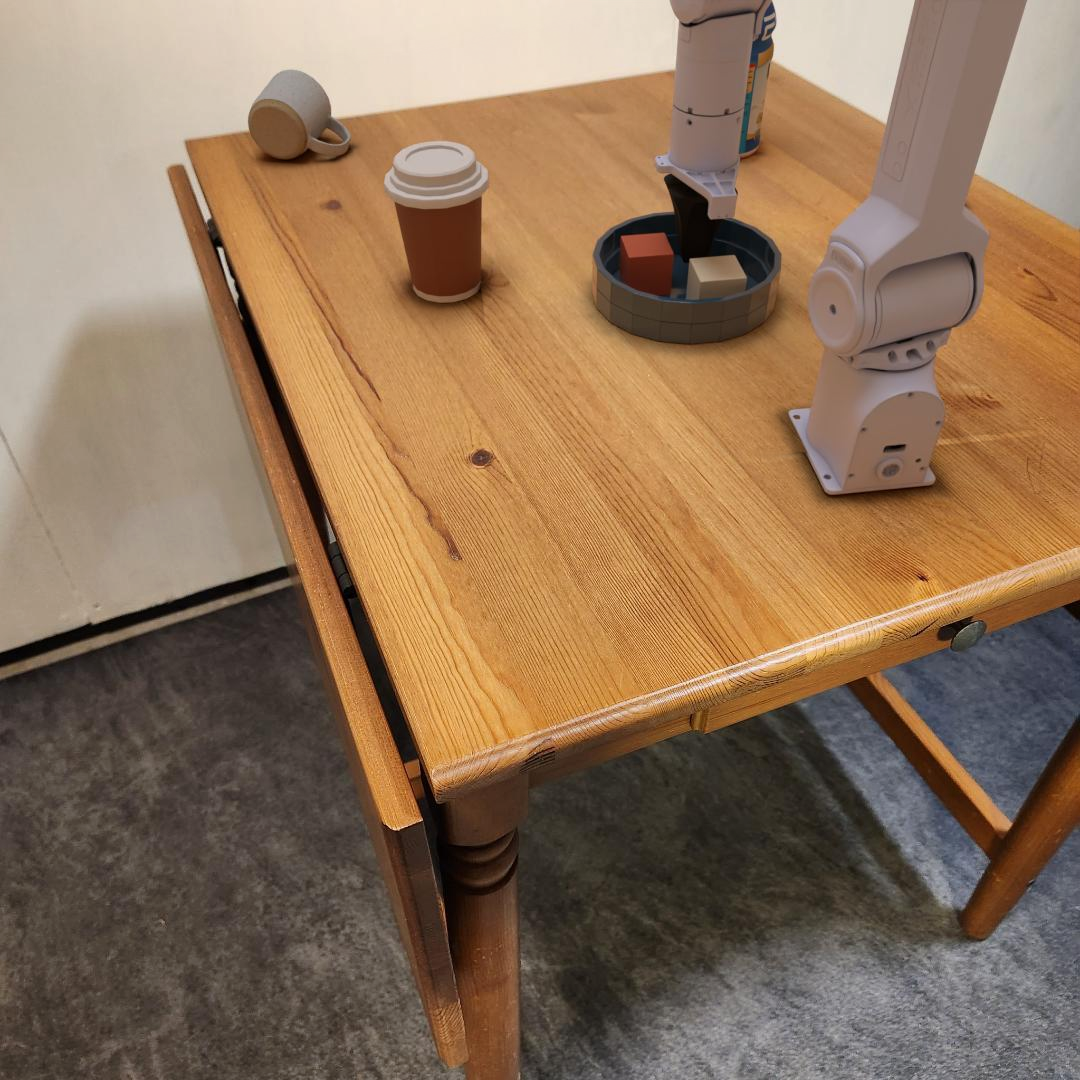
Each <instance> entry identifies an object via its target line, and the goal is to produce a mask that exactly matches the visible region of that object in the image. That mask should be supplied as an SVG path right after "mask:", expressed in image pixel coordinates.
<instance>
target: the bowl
mask: <svg viewBox="0 0 1080 1080" xmlns="http://www.w3.org/2000/svg"><path fill="white" fill-rule="evenodd" d="M653 233H665V235H666V237H667V240H668V242H669V244H670V246H671V249H672V251H673V253H674V260H673V272H672V284H671V294H670V295H659V296H657V295H653V294H649V293H645V292H641V291H637V290H635V289H633V288H631V287H629V286H627V285H625V284H623V283H622V282H621V279H620V277H619V269H620V244H621V236H628V235H641V234H653ZM728 255H735V257H736V258H737V260H738V262H739V264H740V266H741V268H742V270H743V271H744V273H745V275H746V277H747V282H746V289H745V291H743V292H740V293H736V294H733V295H729V296H725V297H721V298H709V299H697V300H689V299H686V292H687V281H688V271H689V263H684V262H683V260H682V258H681V255H680V251H679V245H678V237H677V228H676V220H675V213H674V211H666V212H665V211H663V212H653V213H649V214H644V215H640V216H636V217H631V218H628V219H626V220H624V221H622V222H620V223H618V224H615V225H613V226H612V227H609V228H608V229H607V230H606V231H605V232H604V233H603V234H602V235H601V236H600V237H599V238H598V239H597V240H596V243H595V246H594V248H593V252H592V264H591V265H592V266H591V267H592V269H591V270H592V272H591V276H592V277H591V295H592V298H593V301H594V304H595V307H596V309H597V310H598V312H599V313H600V314H601V315H602V316H603V317H604V318H605V319H606V320H607V321H608V322H609V323H611V324H612V325H614V326H616V327H618V328H620V329H621V330H624V331H625V332H627V333H629V334H631V335H635V336H638V337H641V338H644V339H649V340H652V341H656V342H662V343H672V344H673V343H674V344H684V345H694V344H695V345H696V344H706V343H716V342H717V343H719V342H723V341H726V340H730V339H734V338H737V337H741V336H744V335H747V334H748V333H749V332H751V331H752V330H755V329H756V328H757V327H759V326H760V325H763V324H764V323H765V322H766V320H767V319H768V318H769V316H771V313H772V312H773V311H774V310H775V306H776V301H777V296H778V295H777V294H778V289H779V283H780V277H781V273H782V272H781V271H782V258H783V255H782V252H781V251H780V249H779V246H777V243H775V241H774V240H773V238H771V237H770V236H769V235H768V234H766V233H764V232H763V231H762V230H761V229H759V228H757V227H756V226H754V225H751V224H749V223H747V222H744V221H741V220H739V219H737V218H735V217H734V218H725V219H723V220H722V222H721V224H720V226H719V228H718V230H717V233H716V235H715V238H714V241H713V243H712V246H711V249H710V251H709V254H708V256H707V257H716V256H728Z"/></svg>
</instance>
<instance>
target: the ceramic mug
mask: <svg viewBox="0 0 1080 1080" xmlns="http://www.w3.org/2000/svg"><path fill="white" fill-rule="evenodd" d="M247 125H248V131H249V134H250V136H251V138H252V140H253V141H254V143H255V144H256V145H257V146H258V148H260V150H262V152H264V153H265V154H266V155H268V156H271V157H273V158H276V159H278V160H292V159H294V158H297V157H299V156H301V155H303V153H305V152H306V151H307V150H308V149H309V150H310V151H312V152H314V153H316V154H319V155H323V156H326V157H338V156H342V155H344V154H345V153H347V151H348V150H349V146H350V144H351V140H352V136H351V133H350V131H349V130H348V128H347V127H346V126H345V124H343V123H342V122H341V121H339V120H338V119H337V118H335V117H333V115H332V104H331V102H330V98H329V96H328V94H327V92H326V91H325V89H324V87H323V86H322V84H321V83H319V82H318V81H317V80H316V79H315V78H314V77H313V76H311V75H309V74H307V73H306V72H303V71H302V70H298V69H284V70H281V71H279V72H277V73H276V74H275V75H274V76H273V77H272V78H271V79H270V80H269V81H268V82H267V85H266V86H265V87H264V88H263V90H262V91H261V92H260V93H259V95H258V96H257V97H256V98H255V100H254V101H253V103H251V107H250V109H249V112H248V116H247ZM327 129H328V130H330V131H332V132H333V133H335V134H336V135H337V136H338V137H339V138H340V139H341V140H342V141H343V142H341V143H337V144H332V143H329V142H325V141H322V140H319V139H318V138H319V137H320V136H321V135H322V134H323V133H324V132H325V131H326V130H327Z"/></svg>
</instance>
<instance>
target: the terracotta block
mask: <svg viewBox="0 0 1080 1080" xmlns="http://www.w3.org/2000/svg"><path fill="white" fill-rule="evenodd" d="M673 260H674V253H673V251H672V249H671V246H670V244H669V242H668V240H667V237H666V235H665V233H653V234H641V235H628V236H621V244H620V269H619V277H620V279H621V282H622V283H623V284H625V285H627V286H629V287H631V288H633V289H635V290H637V291H641V292H645V293H649V294H653V295H657V296H659V295H670V294H671V284H672V272H673Z"/></svg>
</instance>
